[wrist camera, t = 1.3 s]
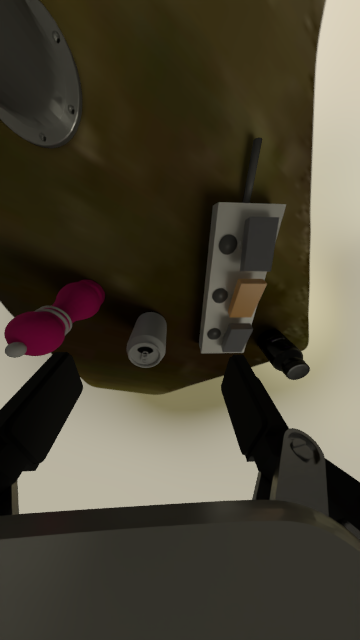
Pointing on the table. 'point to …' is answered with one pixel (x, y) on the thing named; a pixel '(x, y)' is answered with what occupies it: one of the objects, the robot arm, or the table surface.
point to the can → (147, 340)
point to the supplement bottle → (283, 354)
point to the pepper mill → (53, 320)
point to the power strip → (229, 260)
